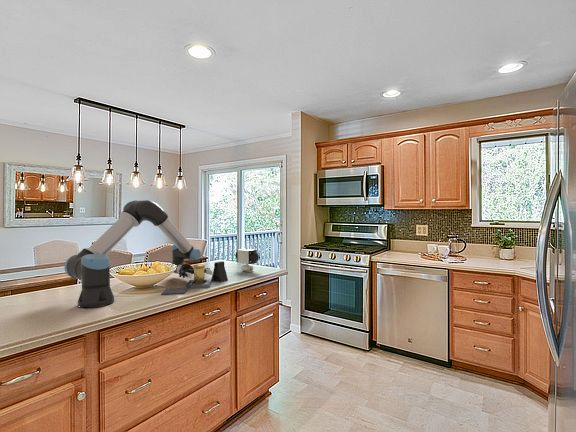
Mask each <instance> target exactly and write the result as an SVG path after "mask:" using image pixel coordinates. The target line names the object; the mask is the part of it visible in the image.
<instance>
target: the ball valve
mask: <svg viewBox="0 0 576 432" xmlns="http://www.w3.org/2000/svg"><path fill="white" fill-rule="evenodd" d="M234 257H235V259H236V262H237V263H239V264H242V265H241V267H240V270H241V271H243V272H247V273H251V272H253V271H254V266H253V264H257V263H258V261H259V253H258V250H257V249H251V248H248V247H245V248H239V249H236V252H235V256H234Z"/></svg>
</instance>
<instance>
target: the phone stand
mask: <svg viewBox="0 0 576 432" xmlns="http://www.w3.org/2000/svg"><path fill="white" fill-rule="evenodd" d="M213 265H214V268H213V270H212V275H211V279H212V282H217V283H223V282H227V281H229V278H228V274H227V271H226V267H225V261H224V260H223V261H216V262H214V264H213Z"/></svg>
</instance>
